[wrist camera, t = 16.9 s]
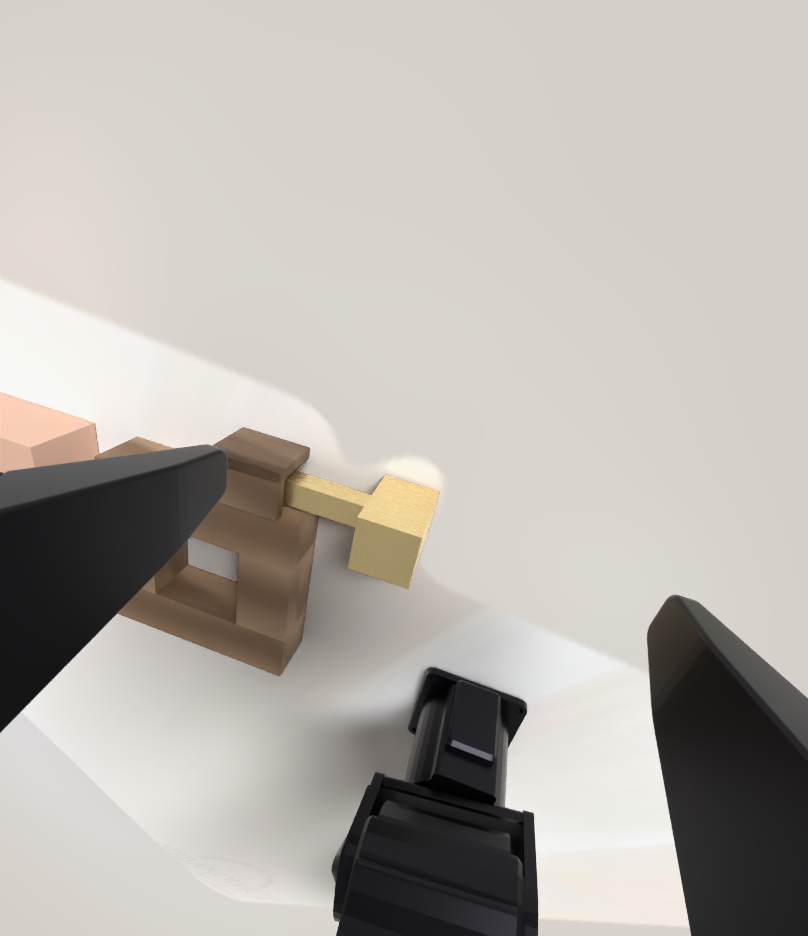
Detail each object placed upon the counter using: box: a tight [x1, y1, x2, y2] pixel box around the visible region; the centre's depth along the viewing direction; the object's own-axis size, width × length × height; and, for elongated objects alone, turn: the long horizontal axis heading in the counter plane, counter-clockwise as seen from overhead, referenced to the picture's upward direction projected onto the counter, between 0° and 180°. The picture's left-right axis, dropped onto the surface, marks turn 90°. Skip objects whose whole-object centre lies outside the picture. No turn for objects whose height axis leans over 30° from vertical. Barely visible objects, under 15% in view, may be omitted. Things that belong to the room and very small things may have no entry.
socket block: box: [94, 427, 319, 676], centre depth 27 cm, size 15×12×3 cm
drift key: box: [283, 471, 440, 589], centre depth 23 cm, size 3×11×4 cm, turn 78°
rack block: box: [0, 393, 99, 473], centre depth 29 cm, size 12×10×4 cm
